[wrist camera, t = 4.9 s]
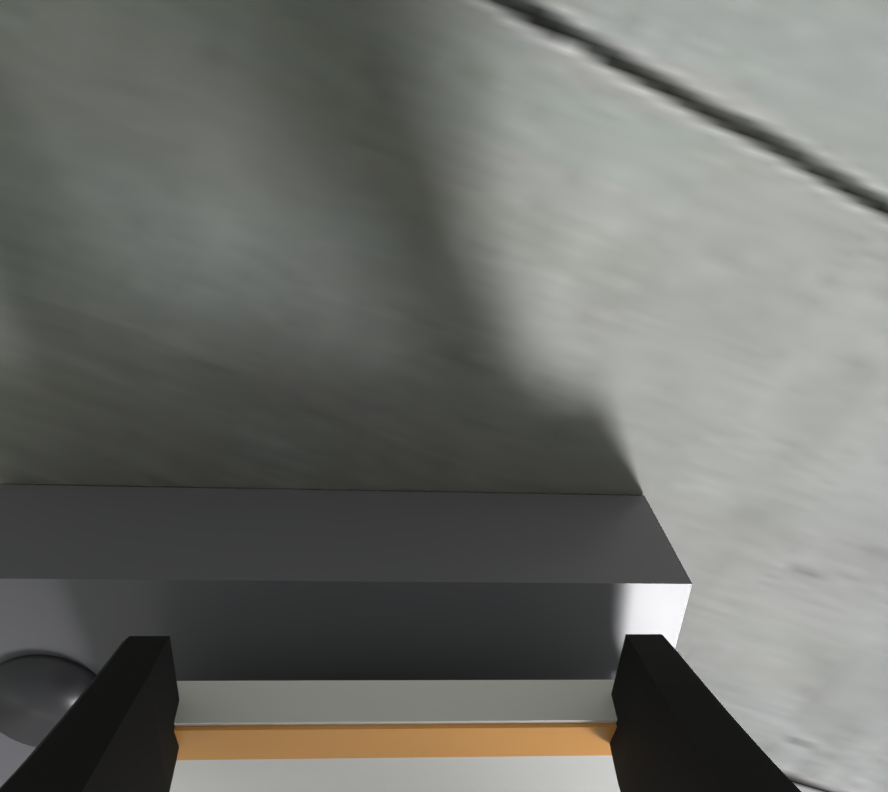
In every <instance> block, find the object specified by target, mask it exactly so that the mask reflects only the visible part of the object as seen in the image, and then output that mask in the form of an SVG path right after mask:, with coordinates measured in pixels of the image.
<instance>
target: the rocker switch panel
mask: <svg viewBox="0 0 888 792" xmlns="http://www.w3.org/2000/svg"><path fill="white" fill-rule="evenodd" d="M691 587H692V583H691V581H690V579H689V577H688V575H687V573H686V572H685V570H684V568H683V566H682V564H681V562H680V561H679V559H678V557H677V555H676V553H675V551H674V550H673V548H672V546H671V544H670V542H669V540H668V538H667V537H666V535H665V533H664V531H663V529H662V527H661V526H660V524H659V522H658V520H657V518H656V516H655V514H654V513H653V511H652V509H651V507H650V505H649V503H648V502H647V500H646V498H645V496H634V495H577V494H520V493H463V492H406V491H348V490H291V489H234V488H177V487H120V486H63V485H5V484H1V485H0V787H1V786H2V785H3V784H4V783H5V782H6V781H7V780H8V779H9V778H10V777H11V775H12V774H13V773H14V772H15V771H16V770H17V769H18V768H19V767H20V766H21V764H22V763H23V762H24V761H25V760H26V759H27V758H28V757H29V755H30V754H31V753H32V752H33V751H34V750H35V748H36V747H37V746H38V745H39V744H40V743H41V741H42V740H43V739H44V738H45V737H46V736H47V734H48V733H49V732H50V731H51V730H52V729H53V728H54V726H55V725H56V724H57V723H58V722H59V721H60V719H61V718H62V717H63V716H64V715H65V713H66V712H67V711H68V710H69V709H70V707H71V706H72V705H73V704H74V702H75V701H76V700H77V699H78V698H79V696H80V695H81V694H82V693H83V692H84V690H85V689H86V688H87V687H88V685H89V684H90V683H91V682H92V680H93V679H94V678H95V677H96V675H97V674H98V673H99V671H100V670H101V669H102V668H103V666H104V665H105V664H106V663H107V661H108V660H109V659H110V657H111V656H112V655H113V654H114V652H115V651H116V650H117V648H118V647H119V646H120V644H121V643H122V642H123V641H124V640H125V639H126V638H128V637H129V636H170V640H171V647H172V653H173V660H174V667H175V674H176V680H177V681H304V680H615V677H616V673H617V668H618V664H619V660H620V656H621V652H622V648H623V643H624V639H625V635H626V634H662V635H663V636H664V637H665V638H666V639H667V640H668V641H669V643H670V644H671V645H672V646H673V647H674V649H675V647H676V644H677V640H678V636H679V632H680V628H681V625H682V621H683V617H684V613H685V609H686V606H687V602H688V598H689V594H690V590H691Z"/></svg>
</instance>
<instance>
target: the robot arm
mask: <svg viewBox="0 0 888 792" xmlns="http://www.w3.org/2000/svg"><path fill="white" fill-rule="evenodd" d="M611 695H612V699H613V703H614V708H615V712H616V716H617V722H616V725H617V728H616V731H615V733H614V735H613V737H612V739H611V741H610V748H611V753H612V758H613V763H614V767H615V772H616V776H617V781H618V785H619V788H620V792H801V791H800V790H799V789H798V788H797V787H796V786H795V785H794V784H793V783H792V782H791V781H790V780H789V779H788V778H787V777H786V775H785V774H784V773H783V772H782V771H781V770H780V769H779V768H778V767H777V766H776V765H775V764H774V763H773V762H772V761H771V760H770V758H769V757H768V756H767V755H766V754H765V753H764V752H763V751H762V750H761V748H760V747H759V746H758V745H757V744H756V743H755V742H754V741H753V740H752V738H751V737H750V736H749V735H748V734H747V733H746V732H745V731H744V730H743V728H742V727H741V726H740V725H739V724H738V723H737V722H736V721H735V720H734V718H733V717H732V716H731V715H730V714H729V713H728V711H727V710H726V709H725V708H724V707H723V706H722V705H721V703H720V702H719V701H718V700H717V699H716V697H715V696H714V695H713V694H712V693H711V692H710V690H709V689H708V688H707V687H706V686H705V684H704V683H703V682H702V681H701V680H700V679H699V677H698V676H697V675H696V674H695V673H694V671H693V670H692V669H691V668H690V667H689V665H688V664H687V663H686V662H685V661H684V659H683V658H682V657H681V656H680V655H679V653H678V652H677V651H676V650H675V649H674V647H673V646H672V645H671V644H670V643H669V641H668V640H667V639H666V638H665V637H664V636H663V635H662V634H626V635H625V639H624V643H623V648H622V652H621V656H620V660H619V664H618V668H617V673H616V677H615V681H614V685H613V689H612V693H611ZM178 704H179V694H178V687H177V680H176V674H175V667H174V660H173V653H172V647H171V640H170V636H129V637H128V638H126V639H125V640H124V641H123V642H122V643H121V644H120V646H119V647H118V648H117V650H116V651H115V652H114V654H113V655H112V656H111V657H110V659H109V660H108V661H107V663H106V664H105V665H104V666H103V668H102V669H101V670H100V671H99V673H98V674H97V675H96V677H95V678H94V679H93V680H92V682H91V683H90V684H89V685H88V687H87V688H86V689H85V690H84V692H83V693H82V694H81V695H80V696H79V698H78V699H77V700H76V701H75V702H74V704H73V705H72V706H71V707H70V709H69V710H68V711H67V712H66V713H65V715H64V716H63V717H62V718H61V719H60V721H59V722H58V723H57V724H56V725H55V726H54V728H53V729H52V730H51V731H50V732H49V733H48V734H47V736H46V737H45V738H44V739H43V740H42V741H41V743H40V744H39V745H38V746H37V747H36V748H35V750H34V751H33V752H32V753H31V754H30V755H29V757H28V758H27V759H26V760H25V761H24V762H23V763H22V764H21V766H20V767H19V768H18V769H17V770H16V771H15V772H14V773H13V774H12V775H11V777H10V778H9V779H8V780H7V781H6V782H5V783H4V784H3V785H2V786H1V787H0V792H170V787H171V783H172V778H173V774H174V769H175V765H176V760H177V755H178V750H179V745H178V742H177V738H176V735H175V732H174V728H175V725H174V721H175V717H176V712H177V708H178Z"/></svg>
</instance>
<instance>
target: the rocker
mask: <svg viewBox="0 0 888 792" xmlns="http://www.w3.org/2000/svg"><path fill="white" fill-rule="evenodd" d="M614 681H615V680H304V681H177V687H178V694H179V704H178V708H177V712H176V717H175V721H174V725H175V728H174V732H175V735H176V738H177V742H178V745H179V750H178V755H177V760H176V765H175V769H174V774H173V778H172V783H171V787H170V792H620V788H619V785H618V781H617V776H616V772H615V767H614V763H613V758H612V753H611V748H610V741H611V739H612V737H613V735H614V733H615V731H616V728H617V725H616V722H617V716H616V712H615V708H614V703H613V699H612V695H611V693H612V689H613V685H614Z"/></svg>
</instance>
